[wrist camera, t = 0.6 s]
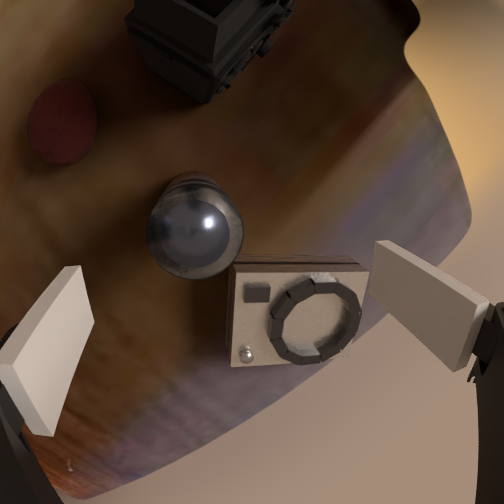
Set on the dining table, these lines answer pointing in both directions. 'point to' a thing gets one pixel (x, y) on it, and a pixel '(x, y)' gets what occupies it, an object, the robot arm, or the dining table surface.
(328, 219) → the dining table surface
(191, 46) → the camera
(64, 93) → the potato
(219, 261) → the lens
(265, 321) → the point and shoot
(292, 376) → the dining table surface
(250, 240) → the dining table surface
